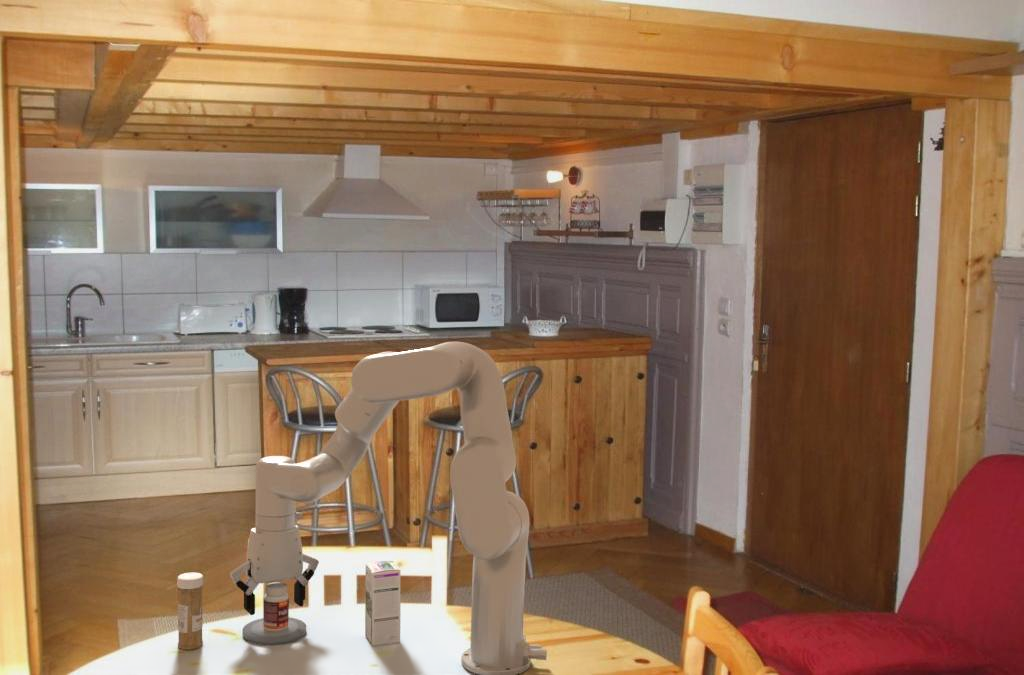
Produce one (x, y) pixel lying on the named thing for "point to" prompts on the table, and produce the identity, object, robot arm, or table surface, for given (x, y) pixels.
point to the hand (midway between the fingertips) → (274, 608)
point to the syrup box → (382, 603)
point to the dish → (274, 633)
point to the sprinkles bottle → (190, 610)
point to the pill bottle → (276, 607)
